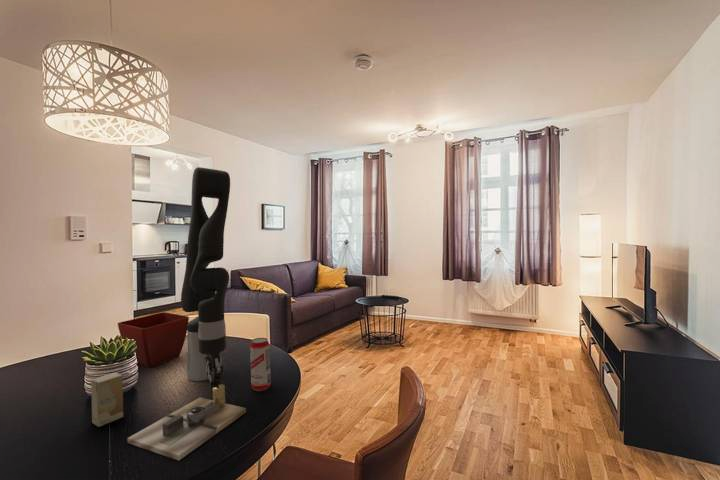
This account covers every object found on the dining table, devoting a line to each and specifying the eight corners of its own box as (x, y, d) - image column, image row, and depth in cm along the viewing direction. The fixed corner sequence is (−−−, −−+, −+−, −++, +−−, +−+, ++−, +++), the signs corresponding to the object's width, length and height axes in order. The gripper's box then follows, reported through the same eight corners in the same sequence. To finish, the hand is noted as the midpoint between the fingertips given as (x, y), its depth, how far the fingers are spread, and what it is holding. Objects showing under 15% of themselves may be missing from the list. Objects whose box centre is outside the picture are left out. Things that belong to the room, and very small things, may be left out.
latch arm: (195, 426, 88) (194, 405, 88) (183, 423, 90) (182, 402, 90) (229, 404, 99) (228, 385, 99) (217, 402, 101) (217, 383, 100)
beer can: (265, 392, 110) (263, 343, 109) (247, 391, 111) (246, 342, 111) (274, 384, 116) (272, 337, 116) (257, 382, 117) (255, 336, 117)
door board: (127, 442, 85) (126, 426, 85) (200, 401, 105) (199, 387, 105) (178, 460, 78) (178, 442, 78) (246, 412, 98) (245, 397, 98)
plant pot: (145, 373, 128) (143, 328, 127) (118, 364, 137) (116, 322, 137) (191, 355, 145) (190, 316, 144) (165, 349, 154) (163, 311, 153)
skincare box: (98, 427, 92) (96, 383, 92) (91, 423, 95) (89, 379, 94) (125, 416, 98) (123, 374, 97) (117, 412, 100) (115, 371, 100)
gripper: (231, 337, 99) (234, 396, 99) (219, 327, 109) (221, 381, 110) (203, 343, 94) (206, 405, 95) (193, 332, 105) (196, 388, 105)
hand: (214, 392), depth 102 cm, fingers closed
